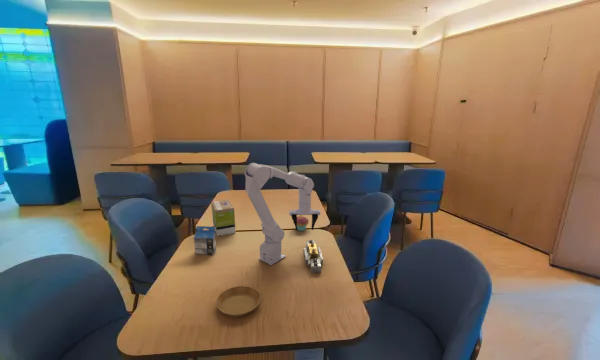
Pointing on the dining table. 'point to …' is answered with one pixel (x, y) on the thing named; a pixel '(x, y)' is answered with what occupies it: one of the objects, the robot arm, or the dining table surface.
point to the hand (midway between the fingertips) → (304, 229)
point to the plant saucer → (238, 300)
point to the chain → (314, 263)
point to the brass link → (312, 251)
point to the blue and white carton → (205, 240)
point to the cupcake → (301, 223)
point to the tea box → (223, 217)
